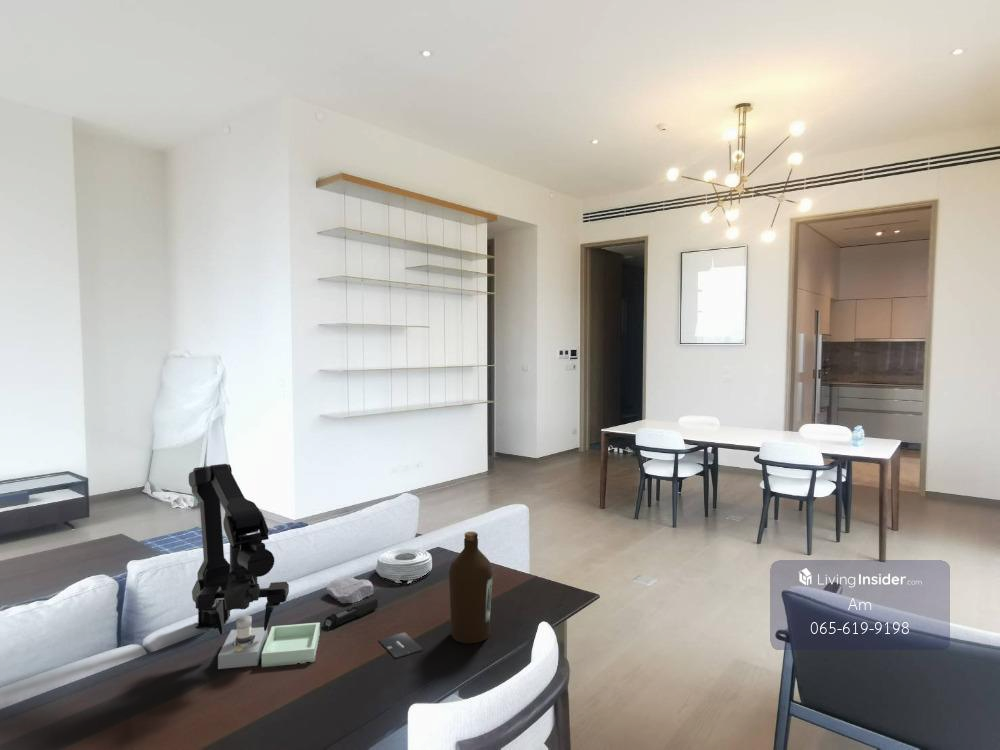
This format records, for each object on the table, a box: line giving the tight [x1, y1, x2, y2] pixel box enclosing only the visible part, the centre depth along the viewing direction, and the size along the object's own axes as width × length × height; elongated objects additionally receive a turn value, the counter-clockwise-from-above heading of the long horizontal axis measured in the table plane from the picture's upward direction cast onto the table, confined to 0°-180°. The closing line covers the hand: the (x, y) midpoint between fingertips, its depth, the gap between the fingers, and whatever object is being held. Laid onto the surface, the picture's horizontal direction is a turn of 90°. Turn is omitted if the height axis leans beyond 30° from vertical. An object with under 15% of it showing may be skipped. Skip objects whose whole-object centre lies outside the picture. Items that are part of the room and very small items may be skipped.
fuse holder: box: [217, 626, 269, 670], centre depth 132 cm, size 8×12×4 cm, turn 12°
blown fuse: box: [235, 615, 253, 645], centre depth 132 cm, size 3×3×8 cm
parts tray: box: [261, 622, 321, 668], centre depth 134 cm, size 11×13×3 cm
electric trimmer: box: [323, 598, 379, 630], centre depth 151 cm, size 4×16×3 cm, turn 140°
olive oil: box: [448, 531, 494, 644], centre depth 142 cm, size 11×11×25 cm
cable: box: [375, 547, 433, 585], centre depth 182 cm, size 18×18×6 cm
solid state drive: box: [378, 632, 423, 660], centre depth 136 cm, size 7×10×1 cm
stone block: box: [325, 575, 374, 603], centre depth 165 cm, size 12×5×10 cm
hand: (243, 631), depth 132 cm, fingers open, 9 cm apart
